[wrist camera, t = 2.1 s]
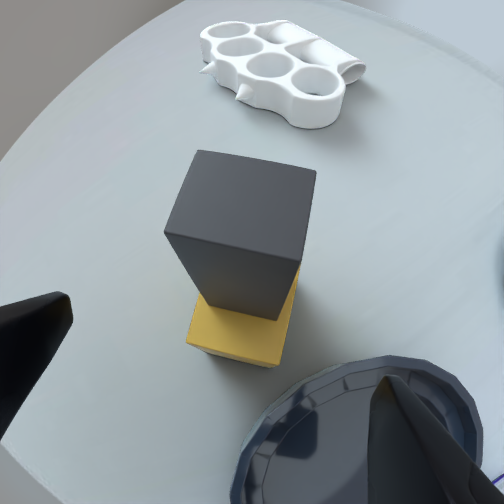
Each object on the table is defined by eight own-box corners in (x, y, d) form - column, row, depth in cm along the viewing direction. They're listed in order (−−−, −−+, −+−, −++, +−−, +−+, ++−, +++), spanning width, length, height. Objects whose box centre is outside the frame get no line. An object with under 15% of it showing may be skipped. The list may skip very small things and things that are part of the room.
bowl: (416, 551, 11) (437, 568, 8) (212, 546, 13) (204, 572, 9) (470, 370, 17) (500, 366, 14) (267, 340, 18) (270, 333, 15)
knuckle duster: (385, 96, 27) (280, 153, 24) (273, 28, 32) (173, 64, 29) (394, 73, 24) (283, 123, 20) (274, 7, 29) (168, 41, 26)
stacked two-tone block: (272, 368, 18) (311, 356, 6) (205, 352, 18) (112, 304, 6) (292, 275, 20) (343, 125, 8) (230, 261, 20) (200, 101, 8)
